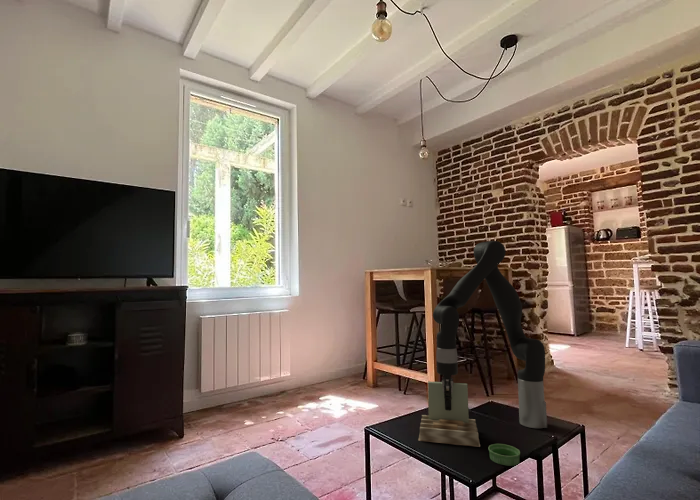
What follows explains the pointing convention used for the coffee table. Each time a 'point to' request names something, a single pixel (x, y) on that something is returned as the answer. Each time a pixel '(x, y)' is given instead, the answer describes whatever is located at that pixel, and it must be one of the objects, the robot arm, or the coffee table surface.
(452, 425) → the offcut front
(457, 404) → the sage board
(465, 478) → the coffee table surface
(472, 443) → the rack
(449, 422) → the offcut middle
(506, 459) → the ramekin
